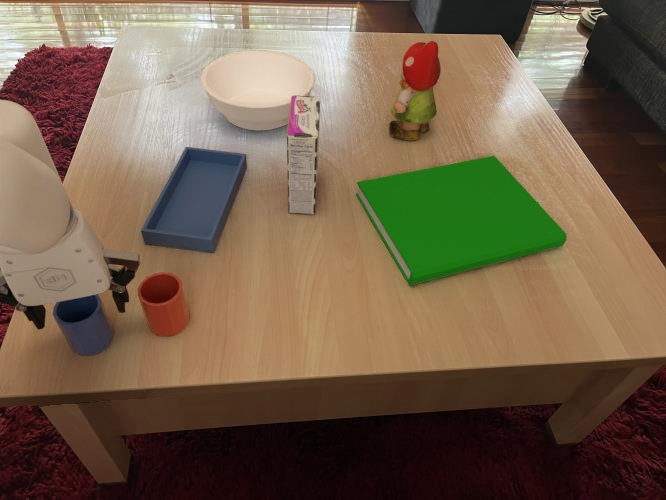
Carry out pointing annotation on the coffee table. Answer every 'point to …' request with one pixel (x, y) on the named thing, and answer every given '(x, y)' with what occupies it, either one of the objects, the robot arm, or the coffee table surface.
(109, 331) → the blue cup
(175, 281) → the red cup
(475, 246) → the book
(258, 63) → the bowl
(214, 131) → the coffee table surface
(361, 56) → the coffee table surface
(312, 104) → the candy bar box
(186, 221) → the blue tray
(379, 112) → the coffee table surface
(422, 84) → the figurine
